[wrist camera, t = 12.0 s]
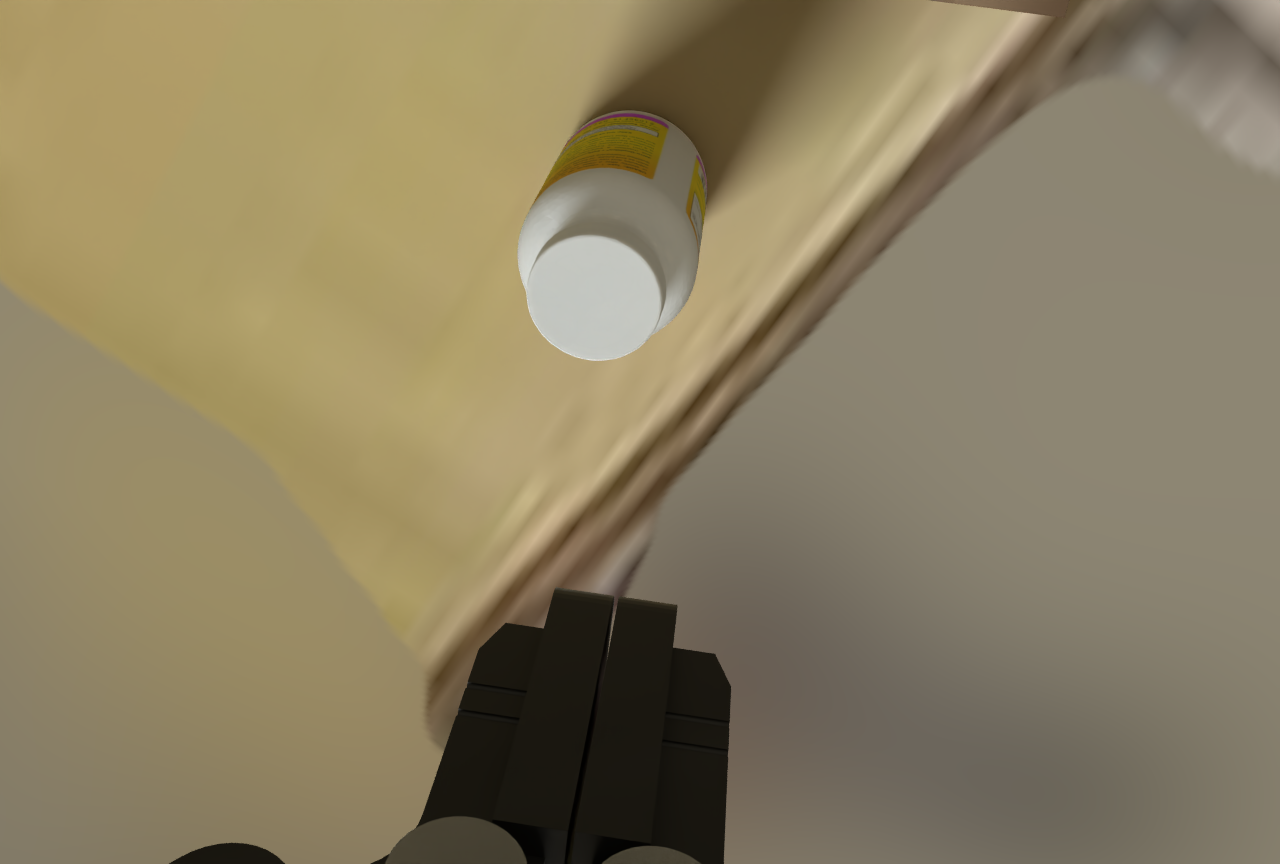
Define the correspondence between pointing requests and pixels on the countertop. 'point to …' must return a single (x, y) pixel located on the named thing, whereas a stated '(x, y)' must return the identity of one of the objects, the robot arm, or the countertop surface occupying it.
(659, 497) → the countertop surface
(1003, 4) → the walnut block
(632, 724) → the robot arm
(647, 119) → the supplement bottle
